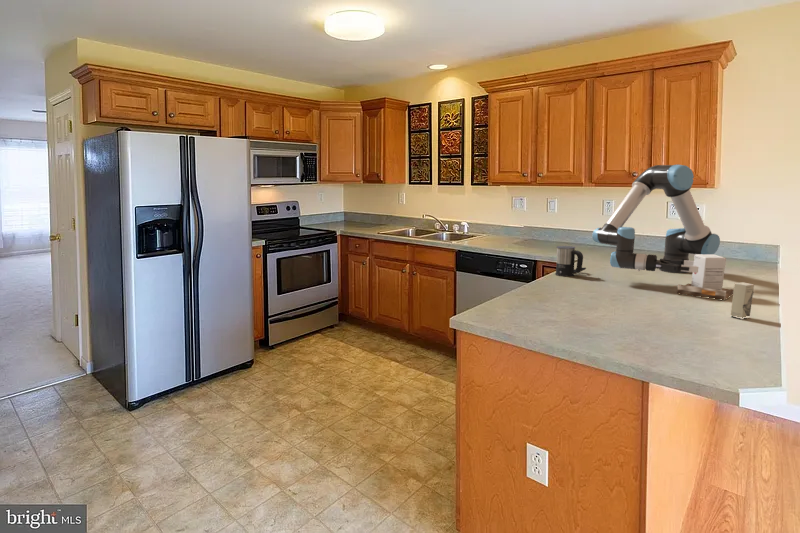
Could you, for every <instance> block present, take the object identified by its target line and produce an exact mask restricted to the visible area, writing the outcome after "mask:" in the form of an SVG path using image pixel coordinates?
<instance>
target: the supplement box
mask: <svg viewBox="0 0 800 533" xmlns="http://www.w3.org/2000/svg"><path fill="white" fill-rule="evenodd" d="M693 255H694V256H693V261H694V264H693V266H699V268H698V273H694V272H692V275H691V283H690V284H691V286H694V287H701V288H708V289H715V290H722V288H723V286H724V285H723V284H724V277H725V272H726V271H725V269H726V262H727V257H725V256H724V257H723V256H721V255H717V254H693Z"/></svg>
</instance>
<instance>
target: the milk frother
mask: <svg viewBox="0 0 800 533" xmlns="http://www.w3.org/2000/svg"><path fill="white" fill-rule="evenodd" d="M575 249H576V246H573V245H572V246H571V245H557V246H556V267H555V275H556V276H558V277H559V276H560V277H572V276H575V274H577V273H581V272H582V271H585V270H586V269H587V267H583V262H584V254H583V253H582V252H581V251H580V250H575ZM575 256H577V260H576V261H577V262H576V267H575Z"/></svg>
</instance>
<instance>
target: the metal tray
mask: <svg viewBox="0 0 800 533" xmlns="http://www.w3.org/2000/svg"><path fill="white" fill-rule="evenodd" d="M676 291H677V292H676V294H677V293H680V294H679V295H682V294H687V295H686V296H689V295H693V296H692V297H696V296H701V297H700V298H702V297H709V298H715V299H722V300H725V299H726V298H727V299H729V298H730V297H731V296H733V295H732V294H733V292H734V289H730V288H724V287H722V290H715V289H708V288H701V287H694V286H691V283H686V284H677V290H676ZM729 296H730V297H729ZM728 297H729V298H728ZM709 298H708V299H709ZM715 299H714V300H715ZM727 299H726V300H727ZM722 300H721V301H722ZM726 300H725V301H726Z"/></svg>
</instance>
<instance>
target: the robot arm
mask: <svg viewBox="0 0 800 533" xmlns="http://www.w3.org/2000/svg"><path fill="white" fill-rule="evenodd" d="M694 177H695V176H694V173H693V171H692V169H691V168H690V167H689V166H687V165H684V164H683V165H682V164H679V163H678V164H656V165H653V166H650V167H648V168H647V169H645V170H644V171H642V173H640V174H639V175H638V176H637V177H636V178H635V179H634V181H633V182H632V184H631V188H630V190H629V191H628V192H627V193H626V195H625V196H624V198H623V199H622V201H620V203H619V205H618V206H617V207H616V208H615V209H614V211H613V212H612V213H611V215H610V216H609V218H607V220H606V222H605V223H604V225H602V227H597V228H595V229H594V230H593V231H592V234H591V236H592V240H593V241H594V242H595V243H597V244H598V243H599V244H601V245H603V244H604V245H610V246H614V247H615V248H616V249H615V251H612V252H611V254H610V258H609V264H610V266H611V267H612V268H619V269H628V270H629V269H631V270H637V271H638V272H640V271H645V270H646V271H649V272H655V271H656V270H657V269H659V271H662V272H667V273H674V274H675V273H676V274H688V273H693V272H694V273H698V268H699V266H693V264H694V260H690V259H689V255H690V254H691V255H695V254H714V255H716V252H718V250H719V247H720V244H721V239H720V236H719V234H717V233H712V231H711V228H710V227H709V226H708V225H705V223H704V221H703V218H702V216H701V214H700V211H699V209H698V207H697V204H696V202H695V200H694V198H693V195H692V193H691V189H692V186H693V183H694ZM653 190H663V192H664V194H665V197H668V198H670V199H671V201H672V203H673V206H674V209H675V210H676V212H677V214H678V217H679V219H680V222H681V223H682V226H683V227H680V228H668V229H667V230H666V232H665V241H664V251H663V252H664V253H663V257H662V258H659V259H657V258H658V256H657V254H646V253H634V248H635V238H636V236H635V234H636V229H635V228H634V227H630V226H624V225H625V223H627V221H629V218H630V217H631V216H632V215H633V213H634V212H635V211H636V209H637V208H638V207H639V206H640V204H641V203H642V201H643V200H644V198H645V197H646V196H649V195H650V194H651V193H652V192H653Z"/></svg>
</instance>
